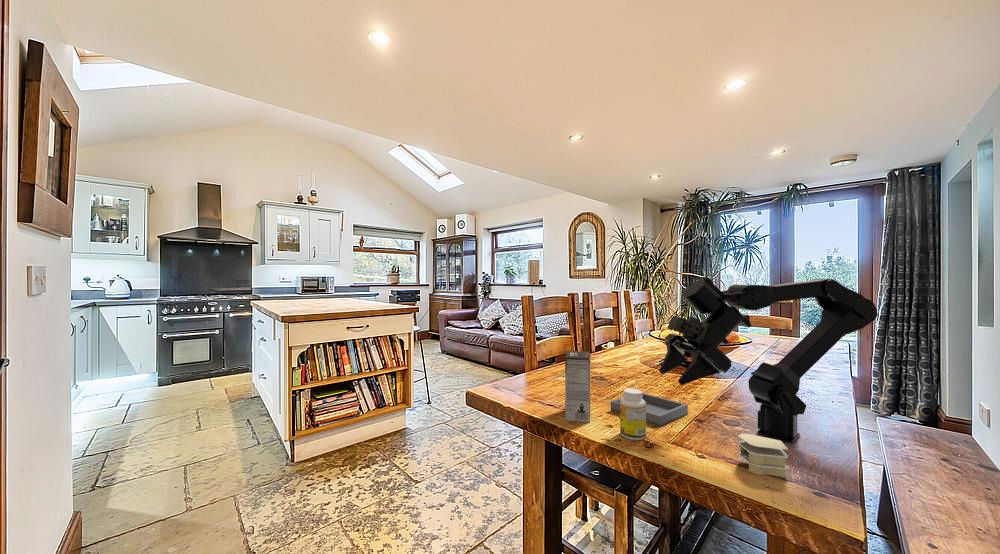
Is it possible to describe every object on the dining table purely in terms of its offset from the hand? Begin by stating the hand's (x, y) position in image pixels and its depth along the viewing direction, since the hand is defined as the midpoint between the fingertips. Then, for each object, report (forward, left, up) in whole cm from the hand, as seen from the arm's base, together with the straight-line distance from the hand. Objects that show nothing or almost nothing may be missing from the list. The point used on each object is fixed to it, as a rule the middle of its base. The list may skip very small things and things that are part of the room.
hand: (669, 377), depth 84 cm
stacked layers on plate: (-18, +1, -14) cm, 23 cm away
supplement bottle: (+5, +7, -13) cm, 16 cm away
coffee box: (+21, +7, -13) cm, 26 cm away
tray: (+11, -10, -13) cm, 20 cm away
